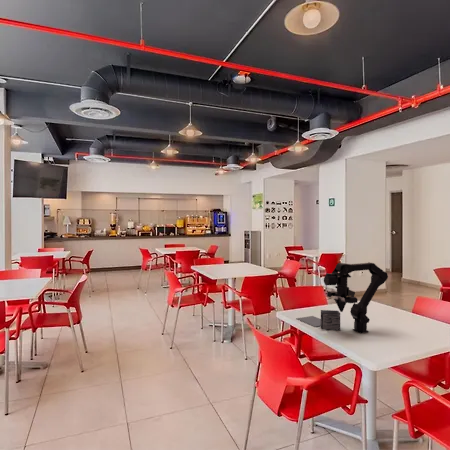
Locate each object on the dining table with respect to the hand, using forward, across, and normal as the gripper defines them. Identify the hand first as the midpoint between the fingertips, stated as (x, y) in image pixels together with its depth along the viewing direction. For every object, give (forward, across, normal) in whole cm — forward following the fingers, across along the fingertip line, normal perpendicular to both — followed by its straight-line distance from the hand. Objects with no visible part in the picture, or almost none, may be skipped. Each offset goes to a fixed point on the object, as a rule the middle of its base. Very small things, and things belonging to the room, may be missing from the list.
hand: (341, 311), depth 191 cm
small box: (+12, +8, +1) cm, 15 cm away
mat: (+12, +22, +2) cm, 25 cm away
